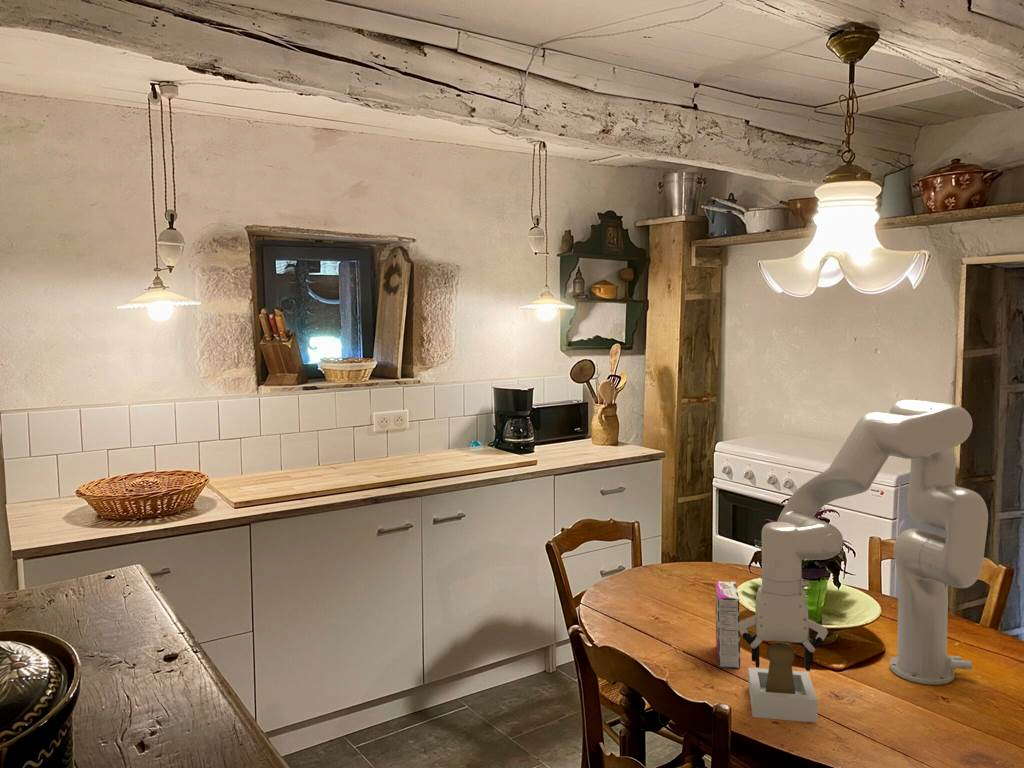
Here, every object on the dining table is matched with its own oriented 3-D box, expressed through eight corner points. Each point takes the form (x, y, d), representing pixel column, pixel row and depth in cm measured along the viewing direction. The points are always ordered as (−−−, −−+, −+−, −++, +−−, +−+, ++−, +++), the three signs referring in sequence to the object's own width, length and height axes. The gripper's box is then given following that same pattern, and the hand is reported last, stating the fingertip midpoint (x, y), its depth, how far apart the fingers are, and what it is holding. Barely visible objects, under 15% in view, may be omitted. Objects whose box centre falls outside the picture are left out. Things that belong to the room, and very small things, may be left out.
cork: (772, 685, 161) (772, 636, 159) (801, 695, 157) (801, 644, 155) (759, 698, 156) (760, 647, 155) (788, 708, 152) (789, 655, 151)
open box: (808, 694, 161) (808, 671, 161) (817, 724, 150) (817, 700, 149) (748, 690, 164) (748, 667, 164) (752, 719, 152) (752, 695, 152)
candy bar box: (714, 646, 184) (714, 580, 183) (736, 647, 183) (736, 581, 182) (717, 667, 174) (717, 597, 172) (740, 669, 173) (740, 598, 171)
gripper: (824, 580, 156) (824, 661, 158) (736, 576, 160) (736, 655, 162) (830, 593, 149) (830, 678, 150) (737, 589, 153) (738, 671, 155)
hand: (781, 666), depth 156 cm, fingers open, 9 cm apart
